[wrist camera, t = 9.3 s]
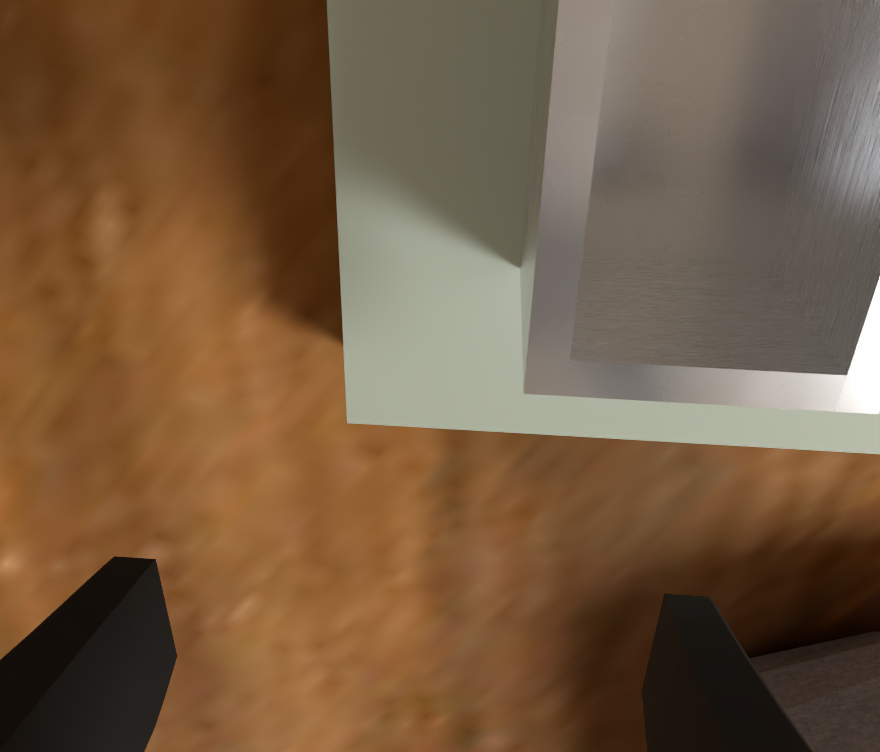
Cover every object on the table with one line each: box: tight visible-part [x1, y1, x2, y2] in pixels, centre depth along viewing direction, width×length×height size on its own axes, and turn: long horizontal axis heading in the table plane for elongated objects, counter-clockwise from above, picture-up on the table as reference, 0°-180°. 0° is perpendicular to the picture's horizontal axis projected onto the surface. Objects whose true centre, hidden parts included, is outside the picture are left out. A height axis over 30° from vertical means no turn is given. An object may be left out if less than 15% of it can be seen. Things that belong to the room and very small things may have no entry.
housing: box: [520, 0, 880, 414], centre depth 11 cm, size 5×9×4 cm, turn 179°
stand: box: [327, 0, 880, 454], centre depth 14 cm, size 12×16×3 cm
